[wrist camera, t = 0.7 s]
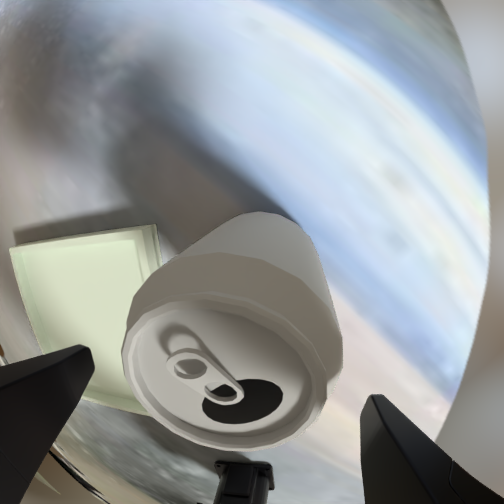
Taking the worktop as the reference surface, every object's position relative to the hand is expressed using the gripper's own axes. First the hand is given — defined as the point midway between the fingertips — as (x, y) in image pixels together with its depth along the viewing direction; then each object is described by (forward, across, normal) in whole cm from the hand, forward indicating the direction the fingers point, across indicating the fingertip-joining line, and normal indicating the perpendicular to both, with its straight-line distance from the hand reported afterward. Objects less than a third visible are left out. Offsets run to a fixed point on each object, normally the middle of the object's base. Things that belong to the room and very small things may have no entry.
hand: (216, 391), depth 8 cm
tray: (+12, +14, +7) cm, 20 cm away
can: (+12, 0, 0) cm, 12 cm away
